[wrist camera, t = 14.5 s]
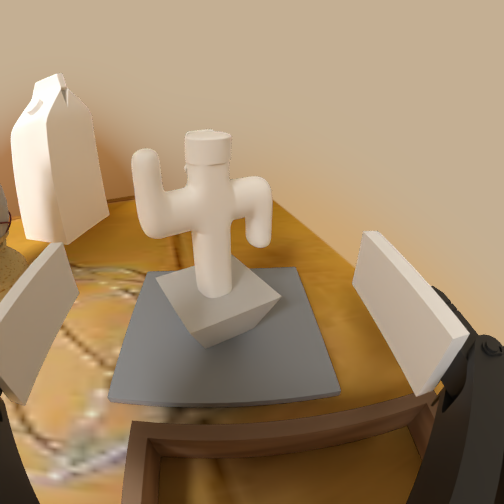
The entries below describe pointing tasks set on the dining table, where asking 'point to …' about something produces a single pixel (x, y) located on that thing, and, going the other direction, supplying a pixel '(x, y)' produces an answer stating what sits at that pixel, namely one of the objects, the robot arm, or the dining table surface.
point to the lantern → (8, 253)
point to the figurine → (208, 236)
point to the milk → (57, 165)
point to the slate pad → (224, 354)
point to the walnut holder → (266, 438)
